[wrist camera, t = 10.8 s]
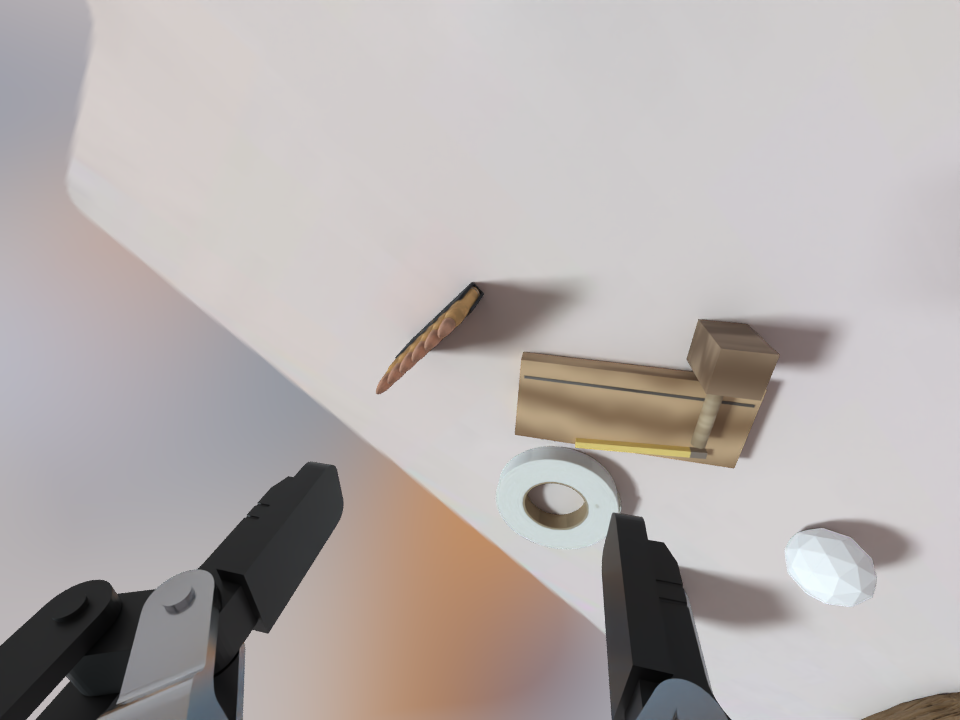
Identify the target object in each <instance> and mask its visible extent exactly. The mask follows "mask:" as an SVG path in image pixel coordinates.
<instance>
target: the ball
mask: <svg viewBox="0 0 960 720" xmlns="http://www.w3.org/2000/svg"><path fill="white" fill-rule="evenodd" d="M784 550H785V557H786V565H787V572H788V574H789V575H790V576H791V577H792V578H793V579H794V580H795V582H796V583H797V584H798V585H799V586H800V587H801V588H802V590H803V591H804V592H805V593H806V594H808V595H810V596H811V597H813V598H815V599H817V600H819V601H821V602H823V603H825V604H830V605H838V606H847V607H853V606H855V605H857V604H859V603H862V602H864V601H866V600H868V599H870V598H872V597H873V594H874V591H875V587H876V582H877V576H876V572H875V568H874V564H873V560H872V558H871V557H870V556H869V555H868V554H867V553H866V552H865V551H864V550H863V549H862V548H861V547H860V546H859V545H858V544H857V543H856V542H855V541H854V540H853V539H852V538H851V537H848V536H845V535H842V534H839V533H837V532H834V531H831V530H828V529H825V528H818V529H810V530H805V531H802V532H798V533H797V534H795V535H794V536H793V537H792V538H790V540H789V542H788V544H787V546H786V548H785V549H784Z"/></svg>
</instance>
